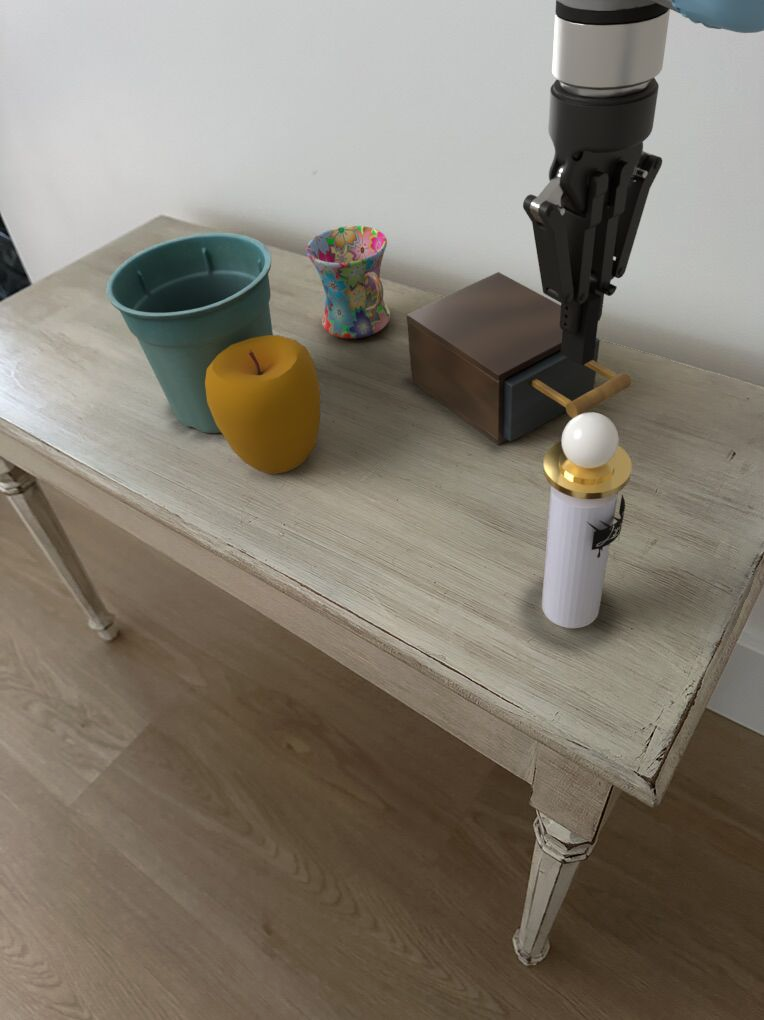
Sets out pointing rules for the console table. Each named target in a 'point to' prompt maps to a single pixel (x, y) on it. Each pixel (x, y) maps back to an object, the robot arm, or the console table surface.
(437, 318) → the cabinet
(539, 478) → the console table surface
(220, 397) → the apple
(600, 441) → the perfume bottle
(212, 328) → the flower pot
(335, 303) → the mug
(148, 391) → the console table surface
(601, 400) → the drawer
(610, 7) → the robot arm
